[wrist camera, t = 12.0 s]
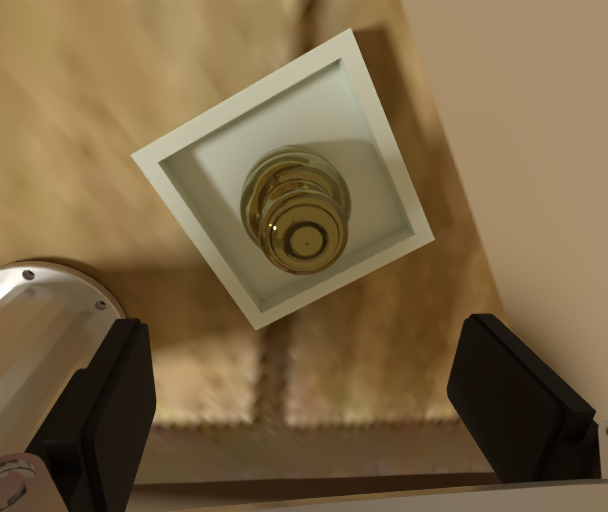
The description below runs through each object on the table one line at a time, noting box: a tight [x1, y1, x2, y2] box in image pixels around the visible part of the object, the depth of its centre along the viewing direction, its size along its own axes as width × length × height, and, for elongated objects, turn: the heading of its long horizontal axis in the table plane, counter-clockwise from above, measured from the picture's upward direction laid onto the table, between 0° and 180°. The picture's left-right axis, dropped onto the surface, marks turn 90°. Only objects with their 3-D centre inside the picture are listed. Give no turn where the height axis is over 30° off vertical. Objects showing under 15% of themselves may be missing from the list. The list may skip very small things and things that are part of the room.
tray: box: [131, 28, 435, 330], centre depth 29 cm, size 16×16×3 cm
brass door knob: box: [240, 146, 352, 275], centre depth 25 cm, size 7×8×10 cm
